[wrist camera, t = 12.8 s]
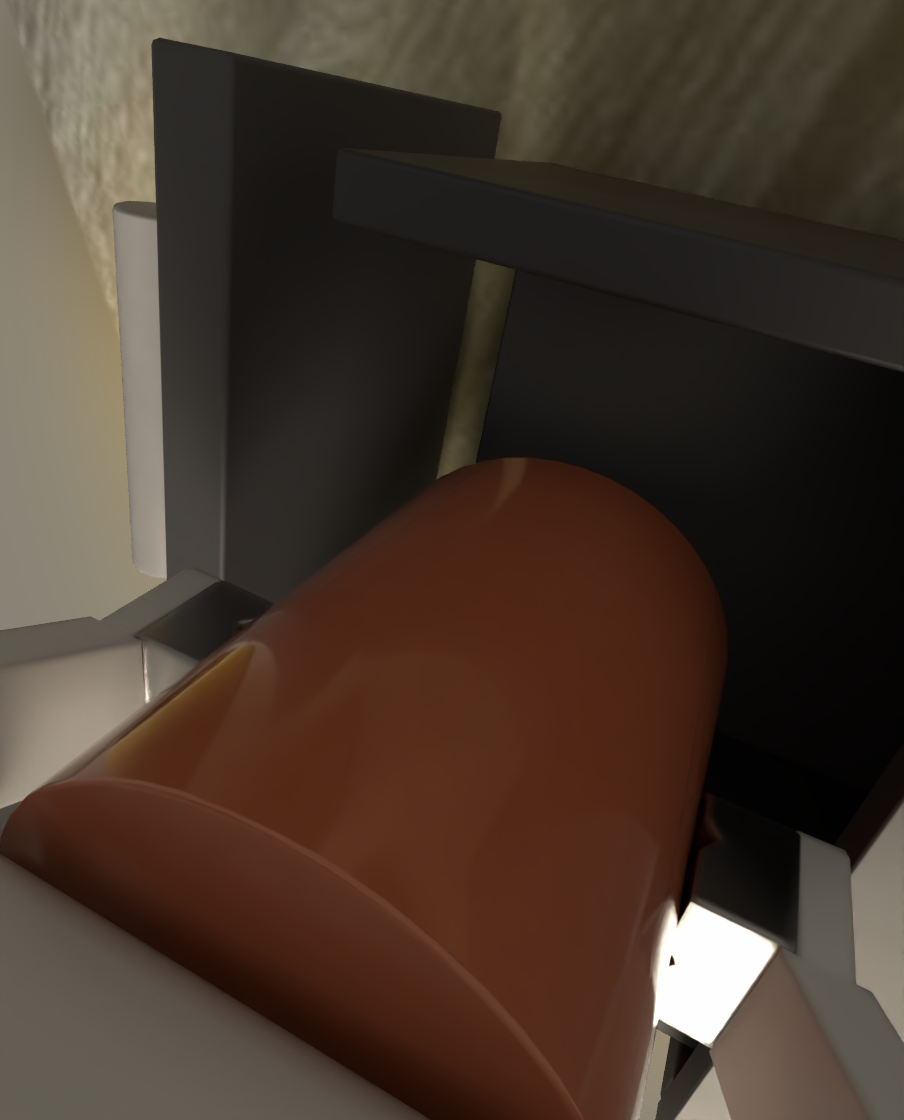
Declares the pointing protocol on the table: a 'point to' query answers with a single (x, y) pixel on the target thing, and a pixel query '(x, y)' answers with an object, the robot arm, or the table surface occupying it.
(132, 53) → the table surface
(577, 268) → the drawer
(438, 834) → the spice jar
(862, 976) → the cabinet
